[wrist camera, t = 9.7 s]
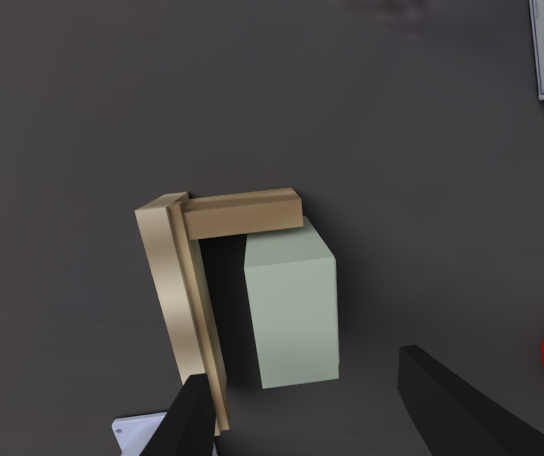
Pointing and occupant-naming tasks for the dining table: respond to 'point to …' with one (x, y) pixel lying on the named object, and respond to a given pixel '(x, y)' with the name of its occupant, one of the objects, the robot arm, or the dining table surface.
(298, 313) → the cabinet block
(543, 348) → the kitchen timer
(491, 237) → the dining table surface
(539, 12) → the medicine box
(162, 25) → the dining table surface
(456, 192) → the dining table surface
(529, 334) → the dining table surface
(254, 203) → the l-shaped wooden block
